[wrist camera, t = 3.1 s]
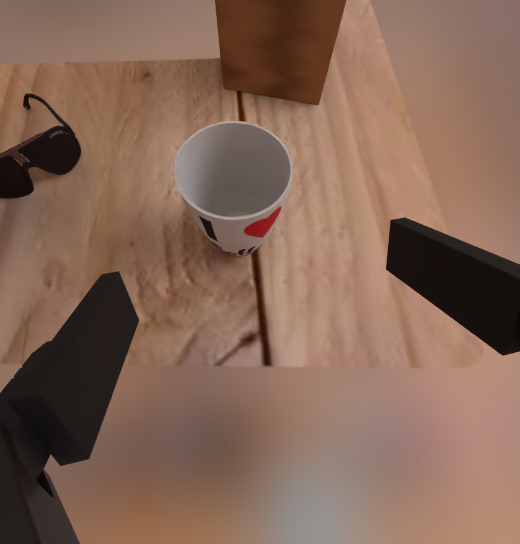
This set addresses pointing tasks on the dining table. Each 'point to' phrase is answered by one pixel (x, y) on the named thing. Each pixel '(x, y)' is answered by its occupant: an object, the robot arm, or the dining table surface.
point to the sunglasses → (38, 156)
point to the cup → (234, 183)
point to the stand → (278, 45)
